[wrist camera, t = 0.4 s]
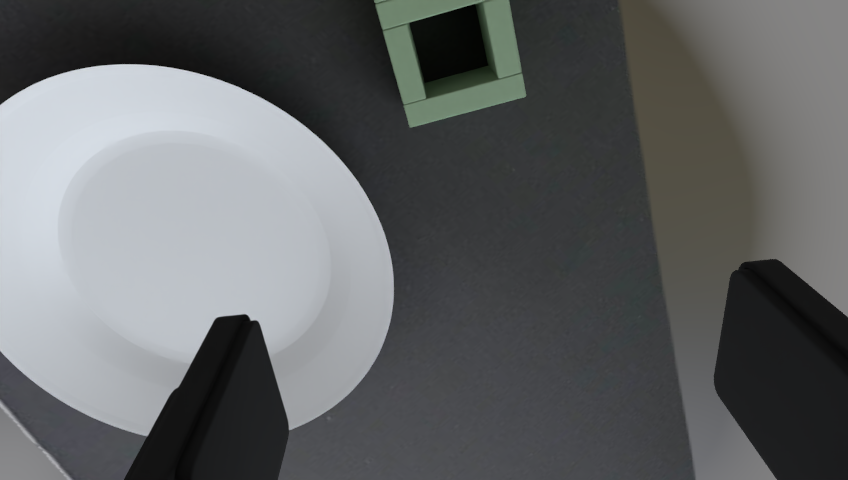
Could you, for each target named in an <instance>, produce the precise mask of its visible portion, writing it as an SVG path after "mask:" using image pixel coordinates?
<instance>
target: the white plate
mask: <svg viewBox="0 0 848 480" xmlns="http://www.w3.org/2000/svg"><path fill="white" fill-rule="evenodd" d="M393 298H394V279H393V269H392V261H391V256H390V252H389V248H388V244H387V240H386V237H385V234H384V231H383V229H382V226H381V223H380V221H379V219H378V216H377V214H376V212H375V210H374V208H373V206H372V204H371V202H370V201H369V199H368V197H367V195H366V194H365V192H364V190H363V189H362V187H361V186H360V184H359V183H358V181H357V180H356V178H355V177H354V176H353V174H352V173H351V172H350V171H349V169H348V168H347V167H346V166H345V164H344V163H343V162H342V161H341V160H340V159H339V157H338V156H337V155H336V154H335V153H334V152H333V151H332V150H331V149H330V148H329V147H328V146H327V145H326V144H325V143H324V142H323V141H322V140H321V139H319V138H318V137H317V136H316V135H315V134H314V133H313V132H311V131H310V130H309V129H308V128H307V127H305V126H304V125H303V124H301V123H300V122H299V121H297V120H296V119H295V118H293V117H292V116H290V115H289V114H287V113H286V112H284V111H283V110H281V109H280V108H278V107H276V106H275V105H273V104H271V103H269V102H268V101H266V100H264V99H262V98H260V97H258V96H256V95H254V94H252V93H250V92H248V91H246V90H244V89H241V88H239V87H237V86H234V85H232V84H229V83H227V82H224V81H221V80H218V79H215V78H212V77H209V76H205V75H202V74H198V73H194V72H190V71H186V70H181V69H176V68H170V67H163V66H154V65H139V64H118V65H104V66H95V67H88V68H83V69H78V70H73V71H69V72H66V73H62V74H59V75H56V76H53V77H50V78H47V79H45V80H42V81H40V82H38V83H36V84H33V85H31V86H29V87H27V88H26V89H24V90H22V91H20V92H18V93H17V94H15V95H14V96H12V97H11V98H9V99H8V100H6V101H5V102H4V103H2V104H1V105H0V351H1V352H2V353H3V354H4V355H5V356H6V357H7V358H8V359H9V360H10V361H11V362H12V363H13V364H14V365H15V366H16V367H17V368H18V369H19V370H20V371H21V372H22V373H24V374H25V375H26V376H27V377H28V378H30V379H31V380H32V381H33V382H35V383H36V384H37V385H38V386H40V387H41V388H43V389H44V390H45V391H47V392H48V393H50V394H51V395H53V396H54V397H56V398H57V399H59V400H61V401H62V402H64V403H66V404H67V405H69V406H71V407H73V408H75V409H76V410H78V411H80V412H82V413H84V414H86V415H88V416H90V417H93V418H95V419H97V420H99V421H102V422H104V423H107V424H109V425H112V426H115V427H117V428H120V429H123V430H126V431H130V432H133V433H137V434H140V435H144V436H148V434H149V433H150V431H151V429H152V427H153V425H154V423H155V422H156V420H157V418H158V416H159V414H160V412H161V410H162V409H163V407H164V405H165V403H166V401H167V399H168V398H169V396H170V394H171V393H172V392H173V390H174V389H176V388H178V387H179V385H180V384H181V382H182V380H183V378H184V376H185V374H186V372H187V370H188V369H189V367H190V365H191V363H192V361H193V359H194V357H195V355H196V354H197V352H198V350H199V348H200V346H201V344H202V342H203V340H204V339H205V337H206V335H207V333H208V331H209V329H210V327H211V325H212V324H213V322H214V320H215V319H216V318H217V317H222V316H231V315H241V314H246V315H248V316H249V318H250V320H251V321H253V320H257V321H258V322H259V324H260V326H261V330H262V333H263V336H264V340H265V343H266V347H267V350H268V353H269V357H270V360H271V364H272V367H273V370H274V374H275V377H276V381H277V384H278V387H279V391H280V394H281V398H282V401H283V404H284V408H285V411H286V415H287V418H288V424H289V430H291V429H293V428H296V427H298V426H301V425H303V424H305V423H307V422H309V421H311V420H313V419H315V418H316V417H318V416H320V415H321V414H323V413H325V412H326V411H328V410H329V409H331V408H332V407H333V406H335V405H336V404H337V403H339V402H340V401H341V400H342V399H343V398H345V397H346V396H347V395H348V394H349V393H350V392H351V391H352V390H353V389H354V388H355V387H356V386H357V385H358V383H359V382H360V381H361V380H362V379H363V377H364V376H365V375H366V373H367V372H368V371H369V369H370V368H371V366H372V364H373V363H374V361H375V359H376V358H377V356H378V354H379V352H380V350H381V348H382V345H383V343H384V340H385V337H386V334H387V331H388V328H389V324H390V320H391V315H392V308H393Z"/></svg>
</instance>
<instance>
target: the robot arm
mask: <svg viewBox="0 0 848 480" xmlns="http://www.w3.org/2000/svg"><path fill="white" fill-rule="evenodd" d="M714 385H715V389H716V391H717V394H718V396H719V397H720V399H721V400H722V402H723V403H724V405H725V406H726V407H727V409H728V410H729V412H730V413H731V415H732V416H733V417H734V418H735V420H736V421H737V423H738V424H739V426H740V427H741V429H742V430H743V432H744V433H745V434H746V436H747V437H748V439H749V440H750V442H751V443H752V445H753V446H754V447H755V449H756V450H757V452H758V453H759V455H760V456H761V457H762V459H763V460H764V462H765V463H766V464H767V466H768V467H769V469H770V470H771V472H772V473H773V475H774V476H775V477H776V479H777V480H848V317H847V316H846V315H844V314H843V313H842V312H841V311H839V310H838V309H837V308H836V307H835V306H834V305H832V304H831V303H830V302H828V301H827V300H826V299H825V298H824V297H823V296H821V295H820V294H819V293H818V292H817V291H815V290H814V289H813V288H812V287H811V286H809V285H808V284H807V283H806V282H805V281H803V280H802V279H801V278H800V277H798V276H797V275H796V274H795V273H793V272H792V271H791V270H790V269H789V268H788V267H786V266H785V265H784V264H783V263H782V262H780V261H778V260H776V259H770V260H760V261H752V262H744V263H742V264H741V266H740V267H739V270H735V271H734V272H733V273H732V274H731V277H730V282H729V288H728V294H727V300H726V307H725V312H724V318H723V324H722V330H721V337H720V343H719V349H718V355H717V361H716V367H715V373H714ZM288 435H289V424H288V418H287V415H286V411H285V408H284V404H283V401H282V398H281V394H280V391H279V387H278V384H277V381H276V377H275V374H274V370H273V367H272V364H271V360H270V357H269V353H268V350H267V347H266V343H265V340H264V336H263V333H262V330H261V326H260V324H259V322H258V321H257V320H253V321H251V320H250V318H249V316H248V315H246V314H241V315H231V316H222V317H217V318H216V319H215V320H214V322H213V324H212V325H211V327H210V329H209V331H208V333H207V335H206V337H205V339H204V340H203V342H202V344H201V346H200V348H199V350H198V352H197V354H196V355H195V357H194V359H193V361H192V363H191V365H190V367H189V369H188V370H187V372H186V374H185V376H184V378H183V380H182V382H181V384H180V385H179V387H178V388H176V389H174V390H173V392H172V393H171V394H170V396H169V398H168V399H167V401H166V403H165V405H164V407H163V409H162V410H161V412H160V414H159V416H158V418H157V420H156V422H155V423H154V425H153V427H152V429H151V431H150V433H149V434H148V436H147V438H146V440H145V442H144V444H143V445H142V447H141V449H140V451H139V453H138V455H137V456H136V458H135V460H134V462H133V464H132V466H131V467H130V469H129V471H128V473H127V475H126V477H125V479H124V480H278V476H279V472H280V468H281V464H282V460H283V456H284V452H285V448H286V444H287V440H288Z"/></svg>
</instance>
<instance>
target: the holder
mask: <svg viewBox="0 0 848 480" xmlns="http://www.w3.org/2000/svg"><path fill="white" fill-rule="evenodd" d="M374 2H375V3H376V5H375V6H376V10H377V13H378V17H379V20H380V24H381V27H382V29H383V34H384V38H385V42H386V45H387V49H388V52H389V56H390V59H391V63H392V66H393V70H394V74H395V77H396V81H397V84H398V88H399V91H400V95H401V98H402V102H403V104H404V109H405V113H406V116H407V120H408V123H409V127H415V126H418V125H422V124H426V123H429V122H433V121H437V120H441V119H444V118H448V117H452V116H456V115H459V114H463V113H467V112H471V111H474V110H478V109H482V108H485V107H489V106H493V105H497V104H500V103H504V102H508V101H512V100H515V99H519V98H523V97H526V91H525V86H524V80H523V75H522V73H521V71H522V70H521V64H520V59H519V53H518V47H517V42H516V36H515V31H514V25H513V20H512V14H511V9H510V3H509V0H374ZM473 4H475V5H476V9H477V14H478V19H479V24H480V29H481V34H482V38H483V43H484V48H485V53H486V58H487V63H488V66H485V67H481V68H477V69H474V70H470V71H467V72H463V73H459V74H456V75H452V76H448V77H445V78H441V79H437V80H434V81H430V82H427V83H425V82H424V78H423V74H422V70H421V66H420V63H419V59H418V55H417V51H416V47H415V43H414V39H413V36H412V32H411V28H410V24H409V23H410V22H413V21H417V20H420V19H424V18H427V17H431V16H434V15H438V14H441V13H445V12H448V11H452V10H455V9H459V8H462V7H466V6H469V5H473Z"/></svg>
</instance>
